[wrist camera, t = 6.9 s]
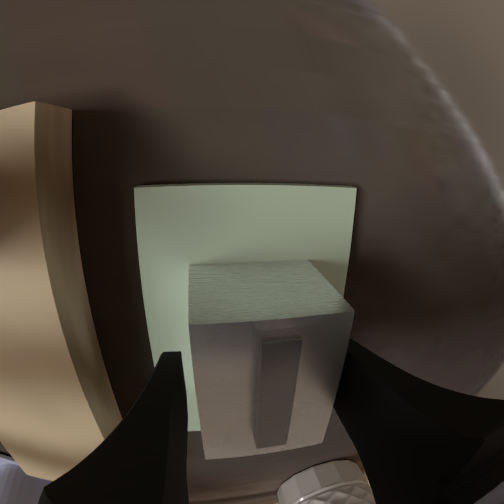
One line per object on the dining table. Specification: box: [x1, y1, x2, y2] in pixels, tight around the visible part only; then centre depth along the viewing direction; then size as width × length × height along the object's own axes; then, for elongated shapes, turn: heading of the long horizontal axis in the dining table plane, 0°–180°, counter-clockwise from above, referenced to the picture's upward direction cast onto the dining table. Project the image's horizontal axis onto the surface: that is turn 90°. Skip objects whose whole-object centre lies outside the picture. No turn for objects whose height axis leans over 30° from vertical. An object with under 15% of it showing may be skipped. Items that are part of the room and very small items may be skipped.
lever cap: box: [188, 259, 355, 459], centre depth 10 cm, size 6×4×5 cm
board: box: [134, 183, 357, 431], centre depth 13 cm, size 12×8×1 cm, turn 178°
